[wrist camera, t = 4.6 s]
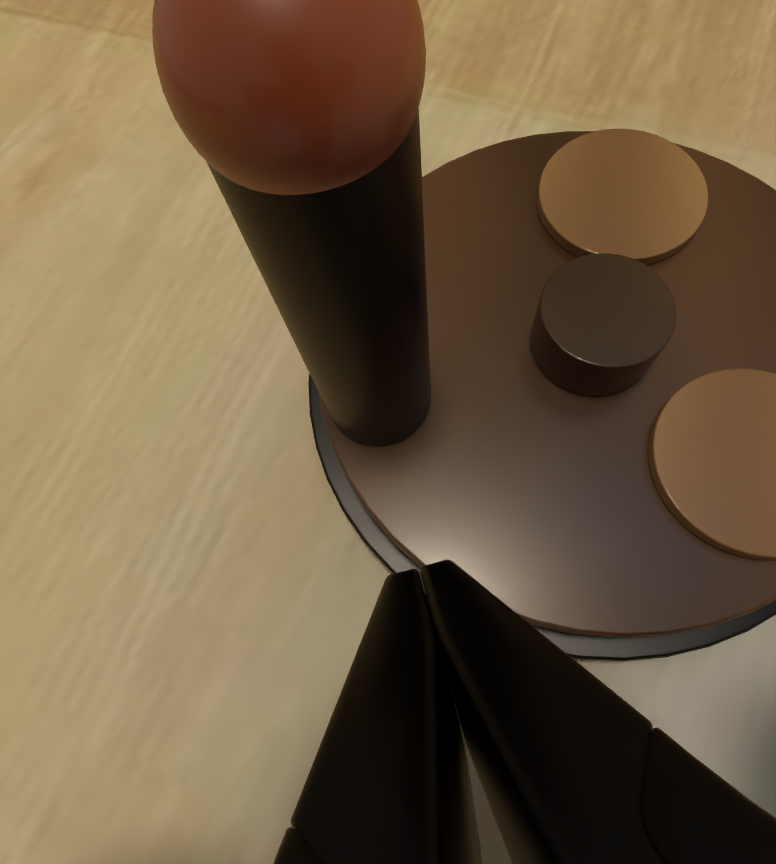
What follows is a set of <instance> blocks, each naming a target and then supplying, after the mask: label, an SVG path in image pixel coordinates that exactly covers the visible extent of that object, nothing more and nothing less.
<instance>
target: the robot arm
mask: <svg viewBox="0 0 776 864" xmlns="http://www.w3.org/2000/svg"><path fill="white" fill-rule="evenodd" d="M420 575H421V576H420ZM421 579H422V580H421ZM422 582H423V583H422ZM423 586H424V587H423ZM424 590H425V591H424ZM428 605H429V606H428ZM444 665H445V666H444ZM447 676H448V677H447ZM448 680H449V681H448ZM450 687H451V688H450ZM451 691H452V692H451ZM452 695H453V696H452ZM453 698H454V700H453ZM454 702H455V703H454ZM455 706H456V707H455ZM456 710H457V711H456ZM457 713H458V715H457ZM458 717H459V718H458ZM459 721H460V722H459ZM460 724H461V726H460ZM461 728H462V730H461ZM462 731H463V734H462ZM463 735H464V738H465V741H466V745H467V748H468V750H469V753H470V756H471V759H472V761H473V764H474V767H475V769H476V772H477V774H478V777H479V779H480V782H481V785H482V787H483V790H484V792H485V795H486V797H487V800H488V802H489V805H490V807H491V810H492V812H493V815H494V817H495V820H496V823H497V825H498V828H499V830H500V833H501V835H502V838H503V840H504V843H505V845H506V848H507V850H508V853H509V855H510V858H511V860H512V863H513V864H776V818H775V817H774V816H772V815H771V814H769V813H768V812H767V811H765V810H764V809H762V808H761V807H759V806H758V805H757V804H755V803H754V802H752V801H751V800H749V799H748V798H747V797H746V796H744V795H743V794H742V793H740V792H739V791H738V790H736V789H735V788H734V787H733V786H731V785H730V784H729V783H727V782H726V781H725V780H723V779H722V778H721V777H720V776H718V775H717V774H716V773H714V772H713V771H712V770H710V769H709V768H708V767H707V766H705V765H704V764H703V763H701V762H700V761H699V760H697V759H696V758H695V757H694V756H692V755H691V754H690V753H689V752H687V751H686V750H685V749H684V748H683V747H681V746H680V745H679V744H678V743H676V742H675V741H674V740H673V739H672V738H670V737H669V736H668V735H667V734H665V733H664V732H663V731H662V730H661V729H659V728H654V729H653V728H652V723H651V722H650V721H649V720H648V719H646V718H645V717H644V716H643V715H641V714H640V713H639V712H638V711H637V710H635V709H634V708H633V707H632V706H630V705H629V704H628V703H627V702H625V701H624V700H623V699H622V698H621V697H619V696H618V695H617V694H616V693H614V692H613V691H612V690H611V689H609V688H608V687H607V686H606V685H605V684H603V683H602V682H601V681H600V680H598V679H597V678H596V677H595V676H593V675H592V674H591V673H590V672H588V671H587V670H586V669H585V668H584V667H582V666H581V665H580V664H579V663H577V662H576V661H575V660H574V659H572V658H571V657H570V656H569V655H568V654H566V653H565V652H564V651H563V650H561V649H560V648H559V647H558V646H556V645H555V644H554V643H553V642H552V641H550V640H549V639H548V638H547V637H545V636H544V635H543V634H542V633H540V632H539V631H538V630H537V629H535V628H534V627H533V626H532V625H531V624H529V623H528V622H527V621H526V620H524V619H523V618H522V617H521V616H519V615H518V614H517V613H516V612H515V611H513V610H512V609H511V608H510V607H508V606H507V605H506V604H505V603H503V602H502V601H501V600H500V599H499V598H497V597H496V596H495V595H494V594H492V593H491V592H490V591H489V590H487V589H486V588H485V587H484V586H483V585H481V584H480V583H479V582H478V581H476V580H475V579H474V578H473V577H471V576H470V575H469V574H468V573H466V572H465V571H464V570H463V569H462V568H460V567H459V566H458V565H457V564H455V563H454V562H453V561H451V560H443V561H439V562H435V563H432V564H428V565H424V566H422V567H421V569H420V573H419V571H418V570H417V569H410V570H406V571H402V572H398V573H395V574H391V575H389V576H388V577H387V578H386V580H385V582H384V585H383V587H382V590H381V592H380V595H379V597H378V600H377V602H376V605H375V608H374V610H373V613H372V615H371V618H370V620H369V623H368V625H367V628H366V630H365V633H364V635H363V638H362V641H361V643H360V646H359V648H358V651H357V653H356V656H355V658H354V661H353V663H352V666H351V668H350V671H349V674H348V676H347V679H346V681H345V684H344V686H343V689H342V691H341V694H340V696H339V699H338V701H337V704H336V707H335V709H334V712H333V714H332V717H331V719H330V722H329V724H328V727H327V729H326V732H325V735H324V737H323V740H322V742H321V745H320V747H319V750H318V752H317V755H316V757H315V760H314V762H313V765H312V768H311V770H310V773H309V775H308V778H307V780H306V783H305V785H304V788H303V790H302V793H301V795H300V798H299V801H298V803H297V806H296V808H295V811H294V813H293V816H292V818H291V824H292V827H290V828H288V829H287V830H286V832H285V835H284V838H283V840H282V843H281V845H280V848H279V850H278V853H277V856H276V858H275V861H274V863H273V864H483V862H482V855H481V849H480V842H479V835H478V828H477V821H476V814H475V807H474V800H473V793H472V786H471V779H470V772H469V765H468V759H467V754H466V748H465V743H464V739H463Z"/></svg>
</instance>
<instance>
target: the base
mask: <svg viewBox="0 0 776 864" xmlns="http://www.w3.org/2000/svg"><path fill="white" fill-rule="evenodd" d="M309 404H310V417H311V423H312V428H313V433H314V438H315V444H316V448H317V451H318V454H319V457H320V460H321V463H322V466H323V469H324V472H325V475H326V478H327V480H328V482H329V484H330V486H331V488H332V490H333V492H334V494H335V496H336V498H337V500H338V502H339V504H340V506H341V508H342V510H343V512H344V513H345V515H346V516H347V518H348V519H349V521H350V522H351V524H352V525H353V526H354V528H355V529H356V531H357V532H358V534H359V535H360V537H361V538H362V540H363V541H364V542H365V544H366V545H367V546H368V548H369V549H370V550H371V551H372V552H373V553H374V554H375V555H376V557H377V558H378V559H379V560H380V561H381V562H382V563H383V564H384V565H385V566H386V568H387V569H388V570H389V571H390V572H391V573H392V574H395V573H398V572H402V571H406V570H410V569H417V570H418V571H419V573H420V569H421V568H419V567H418V566H417V565H416V564H415V563H414V562H413V561H412V560H411V559H409V558H408V557H407V556H406V555H405V554H404V553H403V552H402V551H401V550H399V549H398V548H397V547H396V546H395V545H394V544H393V543H392V542H391V540H390V539H389V538H388V537H387V536H386V534H385V533H384V532H383V531H382V530H381V529H380V527H379V526H378V525H377V524H376V523H375V522H374V520H373V519H372V518H371V517H370V515H369V514H368V512H367V511H366V509H365V507H364V506H363V504H362V503H361V501H360V500H359V498H358V497H357V495H356V493H355V492H354V490H353V489H352V487H351V485H350V484H349V482H348V480H347V478H346V476H345V474H344V472H343V470H342V467H341V465H340V463H339V461H338V459H337V457H336V454H335V452H334V450H333V448H332V445H331V442H330V439H329V435H328V432H327V429H326V425H325V422H324V419H323V415H322V409H321V403H320V396H319V391H318V389H317V387H316V385H315V383H314V381H313V379H312V377H311V375H310V373H309ZM420 576H421V575H420ZM421 580H422V579H421ZM422 583H423V582H422ZM423 587H424V586H423ZM424 591H425V590H424ZM774 615H776V600H774V601H772V602H770V603H769V604H767V605H765V606H763V607H761V608H759V609H757V610H755V611H753V612H751V613H749V614H746V615H743V616H740V617H737V618H734V619H731V620H729V621H726V622H723V623H720V624H717V625H714V626H711V627H707V628H701V629H696V630H691V631H686V632H680V633H675V634H670V635H657V636H637V637H615V638H611V637H599V636H587V635H576V634H568V633H563V632H559V631H554V630H550V629H545V628H541V627H536V626H533V627H534V628H535V629H537V630H538V631H539V632H540V633H542V634H543V635H544V636H545V637H547V638H548V639H549V640H550V641H552V642H553V643H554V644H555V645H556V646H558V647H559V648H560V649H561V650H563V651H564V652H565V653H566V654H568V655H569V656H570V657H571V658H575V659H592V660H614V661H628V660H639V659H650V658H660V657H669V656H673V655H677V654H681V653H685V652H690V651H694V650H698V649H702V648H706V647H710V646H712V645H715V644H717V643H720V642H722V641H725V640H727V639H730V638H732V637H735V636H737V635H740V634H742V633H745V632H747V631H749V630H751V629H752V628H754V627H756V626H758V625H759V624H761V623H763V622H764V621H766V620H768V619H769V618H771V617H773V616H774Z"/></svg>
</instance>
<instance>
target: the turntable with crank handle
mask: <svg viewBox="0 0 776 864" xmlns="http://www.w3.org/2000/svg"><path fill="white" fill-rule="evenodd" d="M152 34H153V48H154V56H155V63H156V67H157V71H158V75H159V79H160V82H161V86H162V90H163V93H164V95H165V97H166V100H167V102H168V104H169V107H170V109H171V111H172V113H173V116H174V118H175V120H176V121H177V123H178V125H179V126H180V128H181V130H182V131H183V133H184V134H185V136H186V137H187V139H188V140H189V142H190V143H191V144H192V145H193V147H194V148H195V149H196V150H197V152H198V153H199V154H200V155H201V156H202V157H203V158H204V159H205V160H206V162H207V164H208V166H209V168H210V170H211V172H212V174H213V176H214V178H215V180H216V182H217V184H218V186H219V188H220V190H221V192H222V194H223V196H224V198H225V201H226V203H227V205H228V207H229V209H230V211H231V213H232V215H233V217H234V219H235V221H236V223H237V225H238V227H239V229H240V231H241V233H242V235H243V237H244V240H245V242H246V244H247V246H248V248H249V250H250V252H251V254H252V256H253V258H254V260H255V262H256V264H257V266H258V268H259V270H260V272H261V274H262V276H263V278H264V281H265V283H266V285H267V287H268V289H269V291H270V293H271V295H272V297H273V299H274V301H275V303H276V305H277V307H278V309H279V311H280V313H281V315H282V317H283V320H284V322H285V324H286V326H287V328H288V330H289V332H290V334H291V336H292V338H293V340H294V342H295V344H296V346H297V348H298V350H299V352H300V354H301V356H302V359H303V361H304V363H305V365H306V367H307V369H308V371H309V373H310V375H311V377H312V379H313V381H314V383H315V385H316V387H317V389H318V391H319V396H320V403H321V409H322V415H323V419H324V422H325V425H326V429H327V432H328V435H329V439H330V442H331V445H332V448H333V450H334V452H335V454H336V457H337V459H338V461H339V463H340V465H341V467H342V470H343V472H344V474H345V476H346V478H347V480H348V482H349V484H350V485H351V487H352V489H353V490H354V492H355V493H356V495H357V497H358V498H359V500H360V501H361V503H362V504H363V506H364V507H365V509H366V511H367V512H368V514H369V515H370V517H371V518H372V519H373V520H374V522H375V523H376V524H377V525H378V526H379V527H380V529H381V530H382V531H383V532H384V533H385V534H386V536H387V537H388V538H389V539H390V540H391V542H392V543H393V544H394V545H395V546H396V547H397V548H398V549H399V550H401V551H402V552H403V553H404V554H405V555H406V556H407V557H408V558H409V559H411V560H412V561H413V562H414V563H415V564H416V565H417V566H418V567H419V568H421V567H422V566H424V565H428V564H432V563H435V562H439V561H443V560H451V561H453V562H454V563H455V564H457V565H458V566H459V567H460V568H462V569H463V570H464V571H465V572H466V573H468V574H469V575H470V576H471V577H473V578H474V579H475V580H476V581H478V582H479V583H480V584H481V585H483V586H484V587H485V588H486V589H487V590H489V591H490V592H491V593H492V594H494V595H495V596H496V597H497V598H499V599H500V600H501V601H502V602H503V603H505V604H506V605H507V606H508V607H510V608H511V609H512V610H513V611H515V612H516V613H517V614H518V615H519V616H521V617H522V618H523V619H524V620H526V621H527V622H528V623H529V624H531V625H532V626H536V627H541V628H545V629H550V630H554V631H559V632H563V633H568V634H576V635H587V636H599V637H611V638H615V637H637V636H657V635H670V634H675V633H680V632H686V631H691V630H696V629H701V628H707V627H711V626H714V625H717V624H720V623H723V622H726V621H729V620H731V619H734V618H737V617H740V616H743V615H746V614H749V613H751V612H753V611H755V610H757V609H759V608H761V607H763V606H765V605H767V604H769V603H770V602H772V601H774V600H776V190H775V189H773V188H772V187H770V186H769V185H767V184H766V183H764V182H763V181H761V180H760V179H758V178H756V177H754V176H752V175H751V174H749V173H747V172H745V171H743V170H741V169H739V168H737V167H735V166H733V165H732V164H730V163H728V162H725V161H723V160H720V159H718V158H715V157H713V156H710V155H708V154H705V153H703V152H700V151H698V150H695V149H692V148H688V147H685V146H682V145H678V144H675V143H672V142H670V141H668V140H666V139H664V138H662V137H659V136H657V135H654V134H651V133H647V132H644V131H638V130H631V129H608V130H600V131H566V132H557V133H547V134H538V135H532V136H527V137H522V138H517V139H513V140H508V141H504V142H500V143H497V144H494V145H491V146H488V147H485V148H482V149H478V150H475V151H473V152H471V153H468V154H466V155H464V156H462V157H459V158H457V159H455V160H452V161H450V162H448V163H446V164H444V165H443V166H441V167H439V168H437V169H436V170H434V171H432V172H431V173H429V174H427V175H425V176H424V177H422V172H421V149H420V126H419V104H420V100H421V96H422V91H423V86H424V79H425V64H426V48H425V38H424V27H423V21H422V17H421V12H420V8H419V4H418V1H417V0H155V1H154V8H153V28H152Z"/></svg>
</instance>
